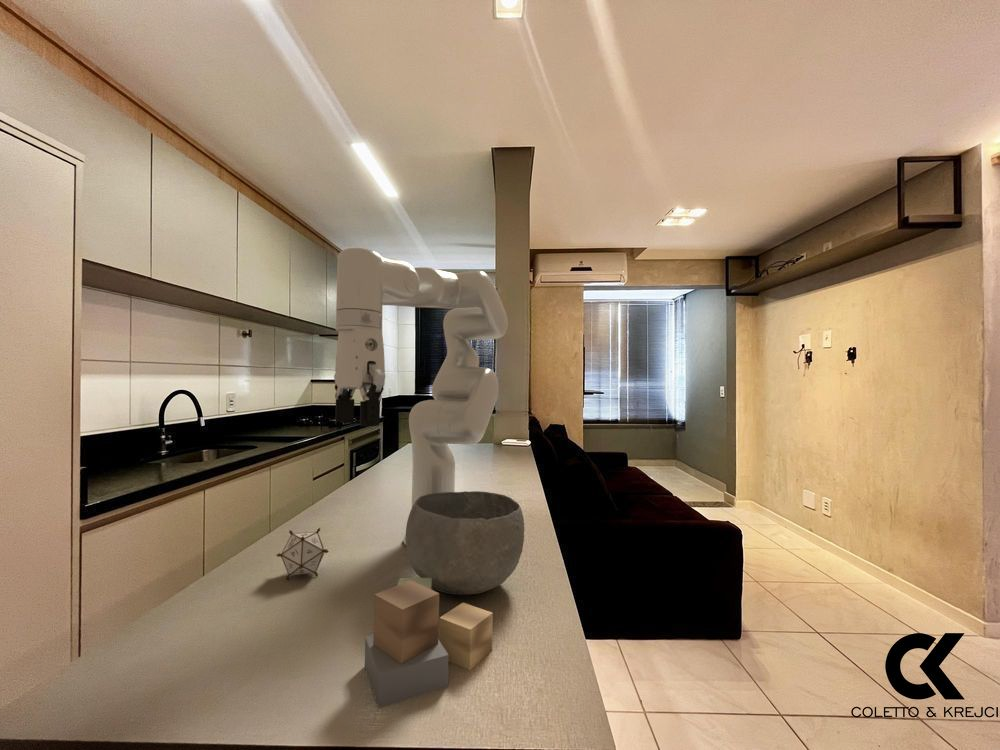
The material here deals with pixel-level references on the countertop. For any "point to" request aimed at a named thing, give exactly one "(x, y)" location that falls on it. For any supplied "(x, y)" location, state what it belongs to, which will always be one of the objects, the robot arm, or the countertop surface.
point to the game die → (303, 553)
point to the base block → (405, 673)
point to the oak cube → (466, 634)
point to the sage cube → (418, 581)
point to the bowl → (465, 540)
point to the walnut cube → (406, 620)
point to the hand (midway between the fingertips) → (356, 423)
